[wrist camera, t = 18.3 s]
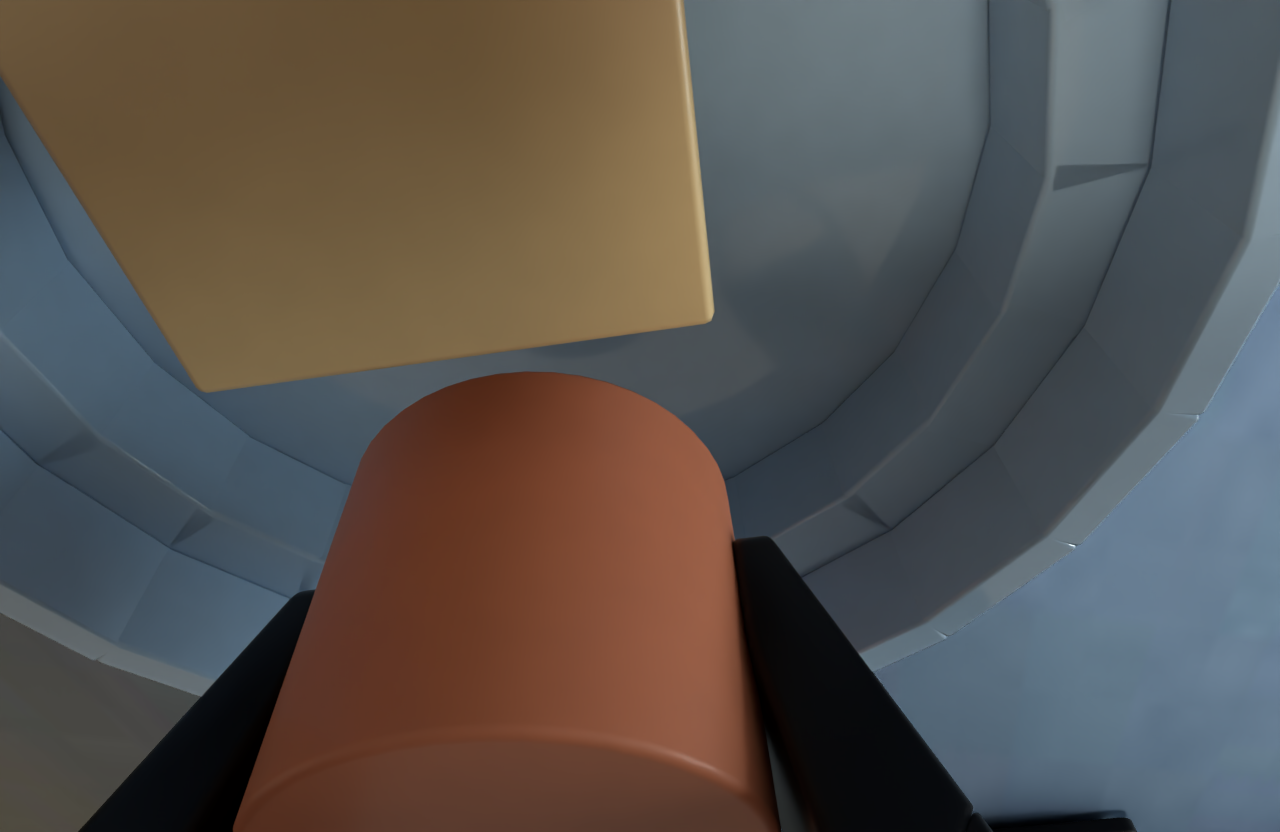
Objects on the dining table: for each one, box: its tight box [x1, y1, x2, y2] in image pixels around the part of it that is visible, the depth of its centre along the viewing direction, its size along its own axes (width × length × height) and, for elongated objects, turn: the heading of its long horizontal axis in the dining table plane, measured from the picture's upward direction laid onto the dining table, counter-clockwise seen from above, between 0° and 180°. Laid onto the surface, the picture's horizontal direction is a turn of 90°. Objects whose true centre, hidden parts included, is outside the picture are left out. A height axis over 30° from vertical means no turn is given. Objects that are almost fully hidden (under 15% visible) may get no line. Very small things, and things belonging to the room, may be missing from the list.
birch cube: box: [0, 0, 714, 393], centre depth 7 cm, size 4×4×4 cm
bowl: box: [0, 0, 1280, 697], centre depth 9 cm, size 15×15×4 cm
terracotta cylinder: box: [233, 371, 782, 832], centre depth 8 cm, size 4×4×4 cm
